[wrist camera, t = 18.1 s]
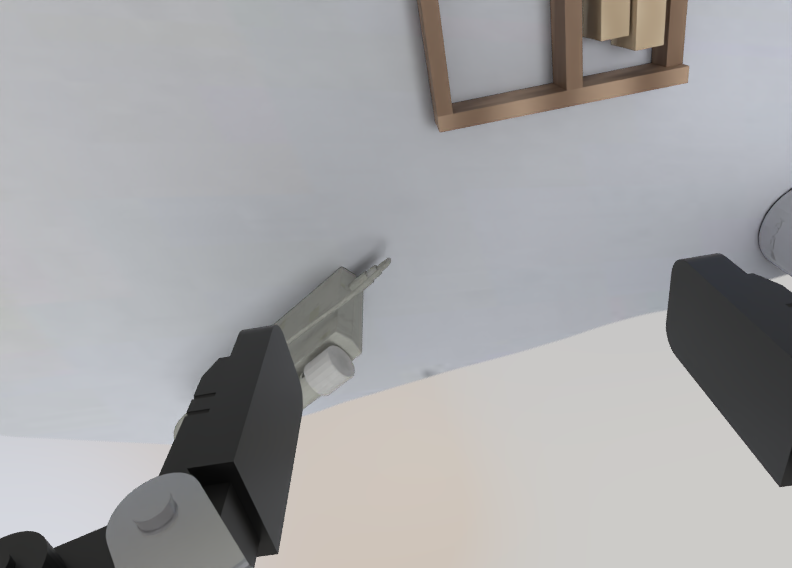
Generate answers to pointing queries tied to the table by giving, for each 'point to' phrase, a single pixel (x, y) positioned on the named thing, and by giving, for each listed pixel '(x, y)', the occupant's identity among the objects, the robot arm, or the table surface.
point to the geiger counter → (326, 332)
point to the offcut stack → (625, 22)
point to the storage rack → (566, 70)
